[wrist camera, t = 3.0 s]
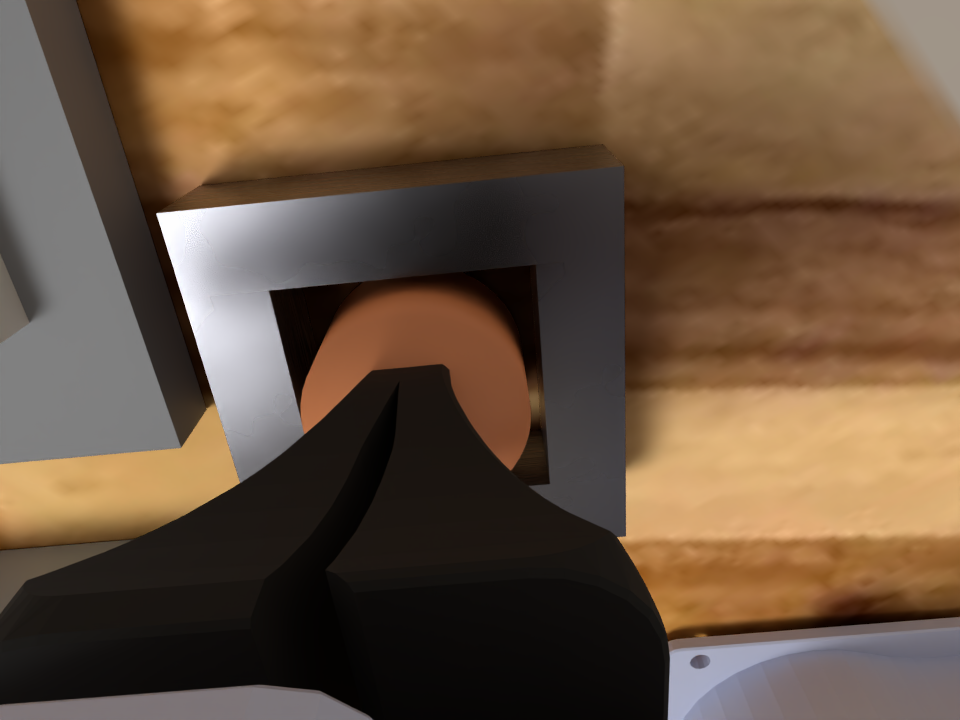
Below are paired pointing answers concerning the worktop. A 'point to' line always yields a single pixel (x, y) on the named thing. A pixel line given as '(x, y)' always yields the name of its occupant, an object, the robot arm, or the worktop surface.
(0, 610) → the tote
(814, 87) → the worktop surface
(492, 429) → the button
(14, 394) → the board
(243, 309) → the button collar
